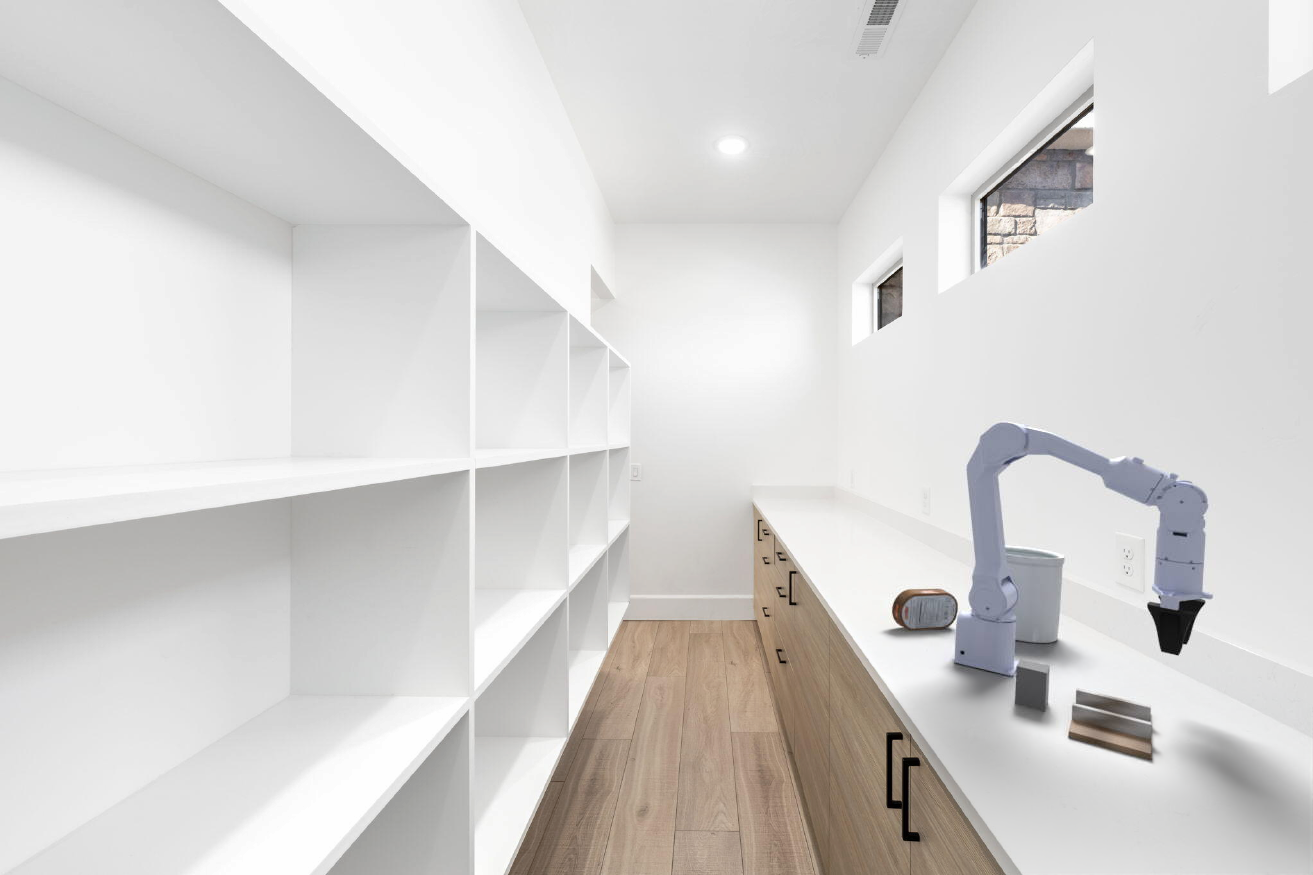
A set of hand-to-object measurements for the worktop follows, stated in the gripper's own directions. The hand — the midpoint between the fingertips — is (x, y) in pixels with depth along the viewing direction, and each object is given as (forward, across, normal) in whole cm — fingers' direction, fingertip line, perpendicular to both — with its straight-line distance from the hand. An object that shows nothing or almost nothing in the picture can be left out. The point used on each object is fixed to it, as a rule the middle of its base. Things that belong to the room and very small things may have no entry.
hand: (1174, 647), depth 95 cm
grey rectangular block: (+10, -15, +15) cm, 23 cm away
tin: (+10, +9, +42) cm, 44 cm away
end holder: (+10, -13, +5) cm, 17 cm away
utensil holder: (+10, +24, +28) cm, 38 cm away
